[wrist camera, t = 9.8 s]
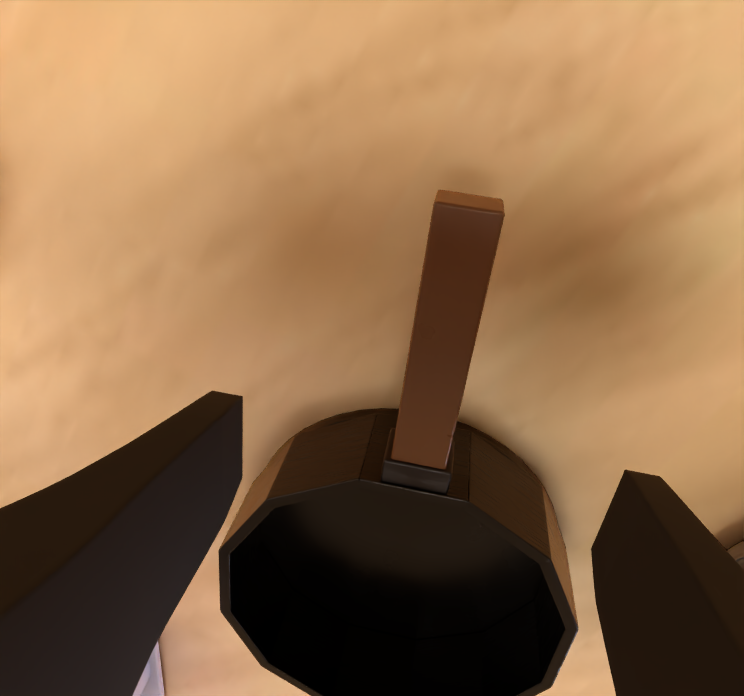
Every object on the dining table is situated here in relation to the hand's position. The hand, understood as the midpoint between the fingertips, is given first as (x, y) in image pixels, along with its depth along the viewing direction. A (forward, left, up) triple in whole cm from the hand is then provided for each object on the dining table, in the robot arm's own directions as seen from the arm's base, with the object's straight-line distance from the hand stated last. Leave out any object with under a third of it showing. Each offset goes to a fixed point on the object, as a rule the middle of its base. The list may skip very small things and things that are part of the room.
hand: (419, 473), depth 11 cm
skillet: (0, -6, -8) cm, 10 cm away
